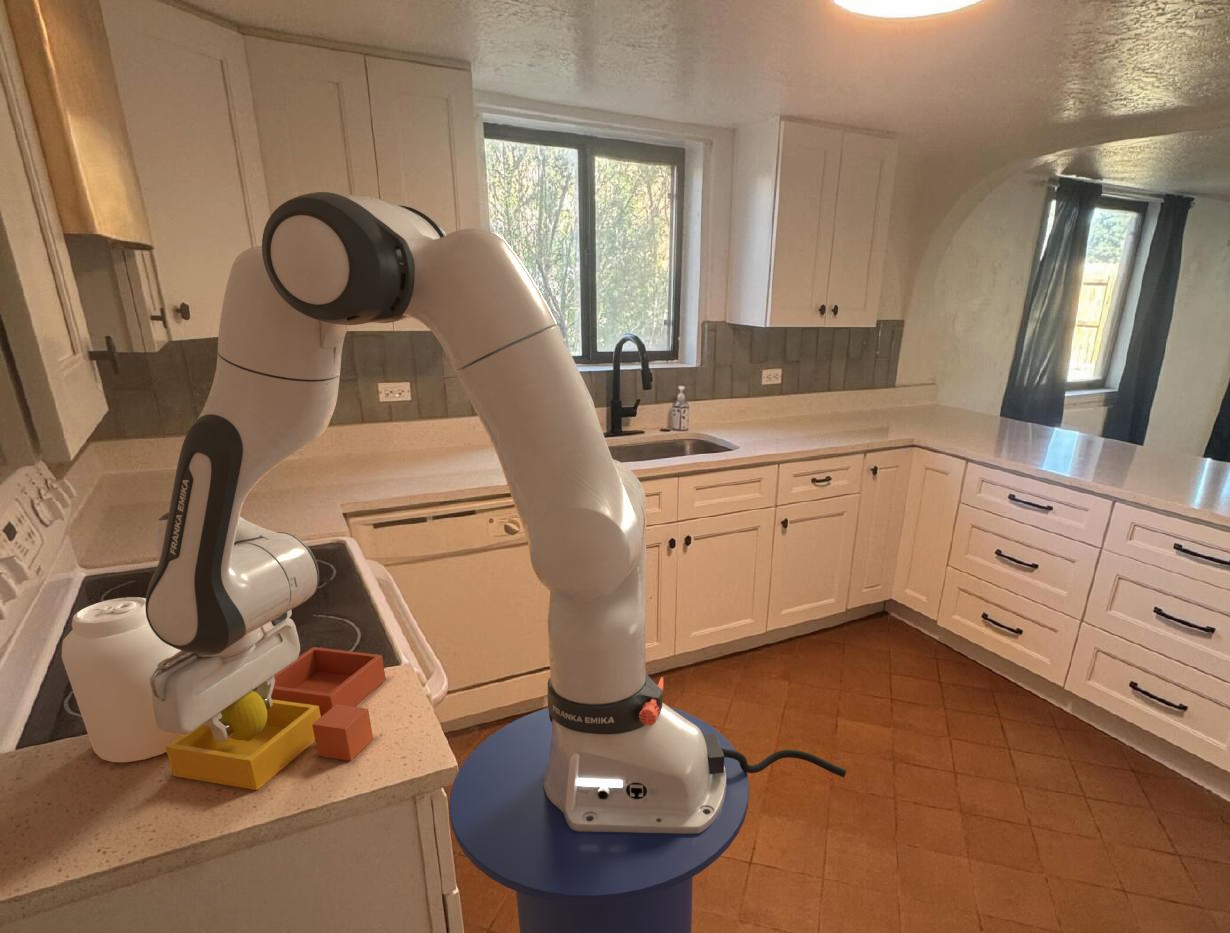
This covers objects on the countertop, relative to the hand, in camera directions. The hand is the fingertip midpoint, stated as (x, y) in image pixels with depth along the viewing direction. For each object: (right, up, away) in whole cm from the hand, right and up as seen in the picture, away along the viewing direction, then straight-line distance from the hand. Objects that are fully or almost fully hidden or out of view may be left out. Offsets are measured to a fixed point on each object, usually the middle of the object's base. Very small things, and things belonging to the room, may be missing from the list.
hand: (245, 722), depth 92 cm
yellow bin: (0, -5, +2) cm, 5 cm away
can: (-16, -3, +5) cm, 17 cm away
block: (+12, -4, +3) cm, 13 cm away
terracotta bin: (+3, +1, +15) cm, 16 cm away
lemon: (0, -3, +1) cm, 3 cm away
